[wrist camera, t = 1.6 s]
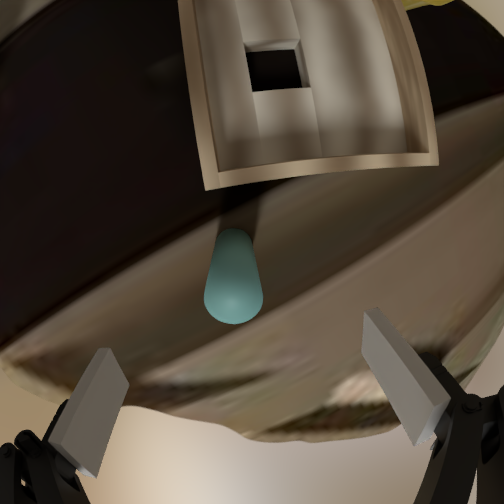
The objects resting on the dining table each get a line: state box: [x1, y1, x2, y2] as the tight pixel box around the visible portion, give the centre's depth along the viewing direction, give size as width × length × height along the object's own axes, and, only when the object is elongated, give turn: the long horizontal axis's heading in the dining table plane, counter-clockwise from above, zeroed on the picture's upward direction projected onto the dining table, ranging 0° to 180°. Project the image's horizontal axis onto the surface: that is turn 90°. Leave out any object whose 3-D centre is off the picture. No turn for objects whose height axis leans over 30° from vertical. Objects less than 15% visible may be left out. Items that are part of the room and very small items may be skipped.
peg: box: [204, 228, 263, 324], centre depth 24 cm, size 4×4×12 cm
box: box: [178, 0, 439, 190], centre depth 21 cm, size 22×22×7 cm
